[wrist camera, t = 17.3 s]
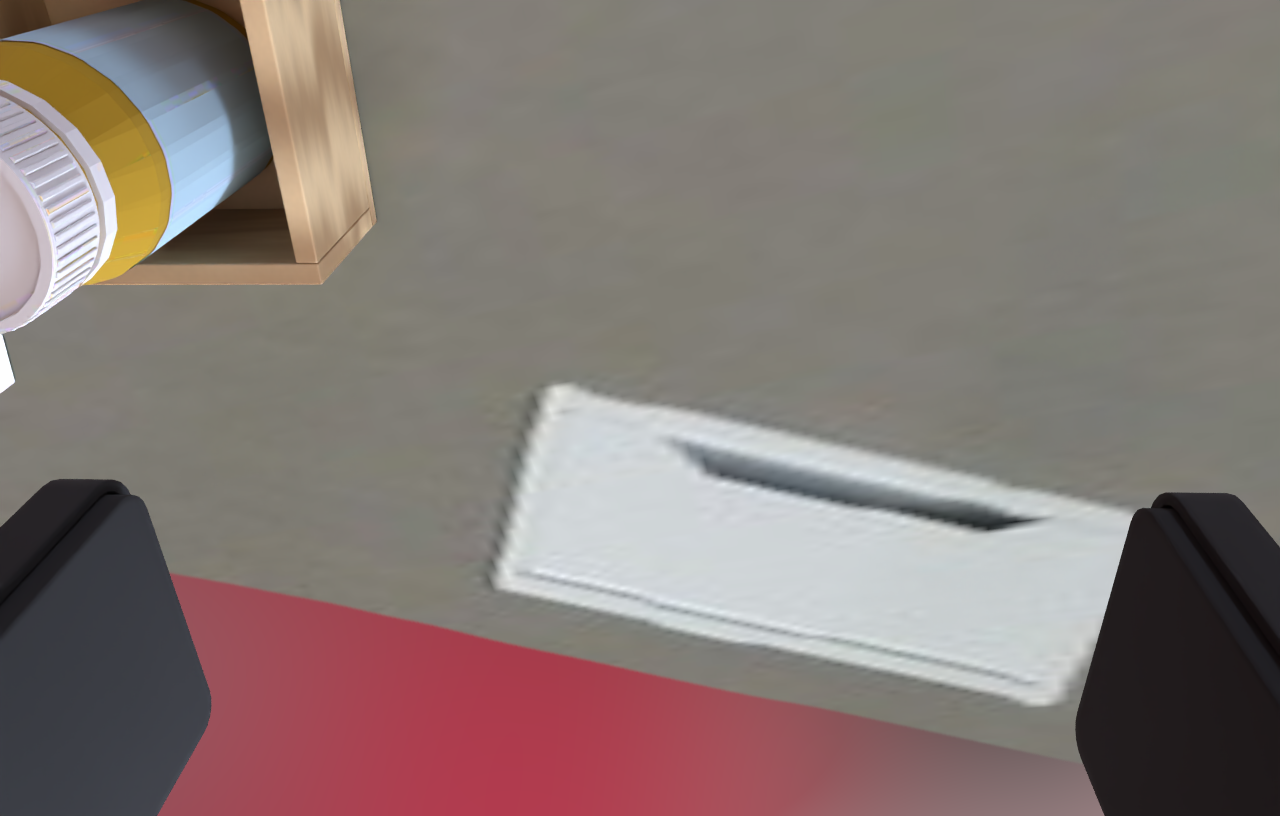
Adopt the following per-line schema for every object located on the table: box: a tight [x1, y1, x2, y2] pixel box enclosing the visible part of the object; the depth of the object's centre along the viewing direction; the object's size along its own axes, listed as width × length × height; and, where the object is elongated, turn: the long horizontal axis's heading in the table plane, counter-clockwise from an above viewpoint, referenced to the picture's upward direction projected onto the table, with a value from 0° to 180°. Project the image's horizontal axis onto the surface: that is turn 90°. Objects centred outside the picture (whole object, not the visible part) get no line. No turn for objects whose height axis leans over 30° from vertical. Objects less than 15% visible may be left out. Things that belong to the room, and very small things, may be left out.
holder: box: [0, 0, 377, 285], centre depth 34 cm, size 12×12×7 cm
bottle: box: [0, 0, 273, 334], centre depth 30 cm, size 7×7×15 cm
